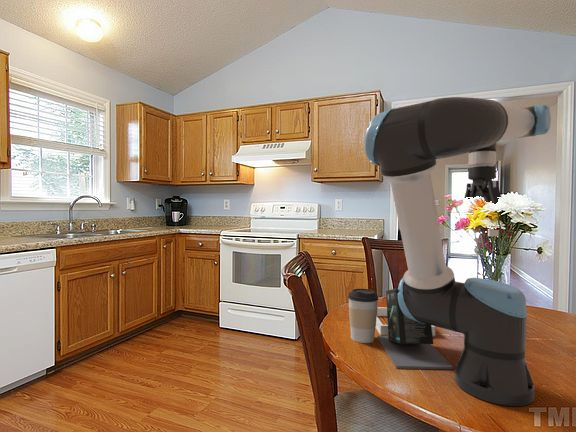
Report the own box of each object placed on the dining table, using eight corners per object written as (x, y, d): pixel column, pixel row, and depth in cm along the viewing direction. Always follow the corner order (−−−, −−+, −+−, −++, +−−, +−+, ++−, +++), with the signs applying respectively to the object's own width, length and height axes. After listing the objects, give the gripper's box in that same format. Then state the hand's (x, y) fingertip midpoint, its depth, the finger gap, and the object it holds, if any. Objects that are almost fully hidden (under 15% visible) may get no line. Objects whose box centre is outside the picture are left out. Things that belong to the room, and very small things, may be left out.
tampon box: (434, 344, 90) (429, 288, 93) (399, 344, 90) (395, 287, 94) (419, 341, 100) (415, 290, 104) (388, 340, 100) (385, 290, 104)
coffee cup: (354, 331, 109) (355, 285, 109) (382, 337, 104) (382, 289, 104) (342, 339, 102) (343, 290, 102) (371, 347, 97) (371, 295, 96)
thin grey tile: (453, 369, 84) (453, 367, 84) (396, 368, 84) (396, 365, 84) (423, 338, 104) (423, 336, 104) (377, 337, 104) (377, 335, 104)
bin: (435, 336, 105) (435, 326, 105) (380, 335, 106) (380, 325, 106) (413, 315, 125) (413, 307, 125) (367, 315, 126) (367, 307, 126)
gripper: (520, 161, 93) (518, 238, 94) (473, 170, 118) (472, 231, 119) (493, 161, 93) (491, 237, 94) (451, 170, 118) (450, 231, 119)
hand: (480, 234), depth 106 cm, fingers open, 13 cm apart
